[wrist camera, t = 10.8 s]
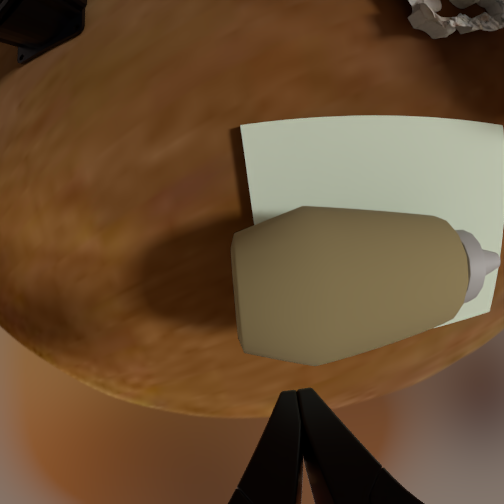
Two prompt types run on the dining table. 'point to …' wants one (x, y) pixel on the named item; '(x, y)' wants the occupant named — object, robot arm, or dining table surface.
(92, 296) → the dining table surface
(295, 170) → the mat
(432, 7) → the egg carton
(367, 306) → the tan nozzle bottle
